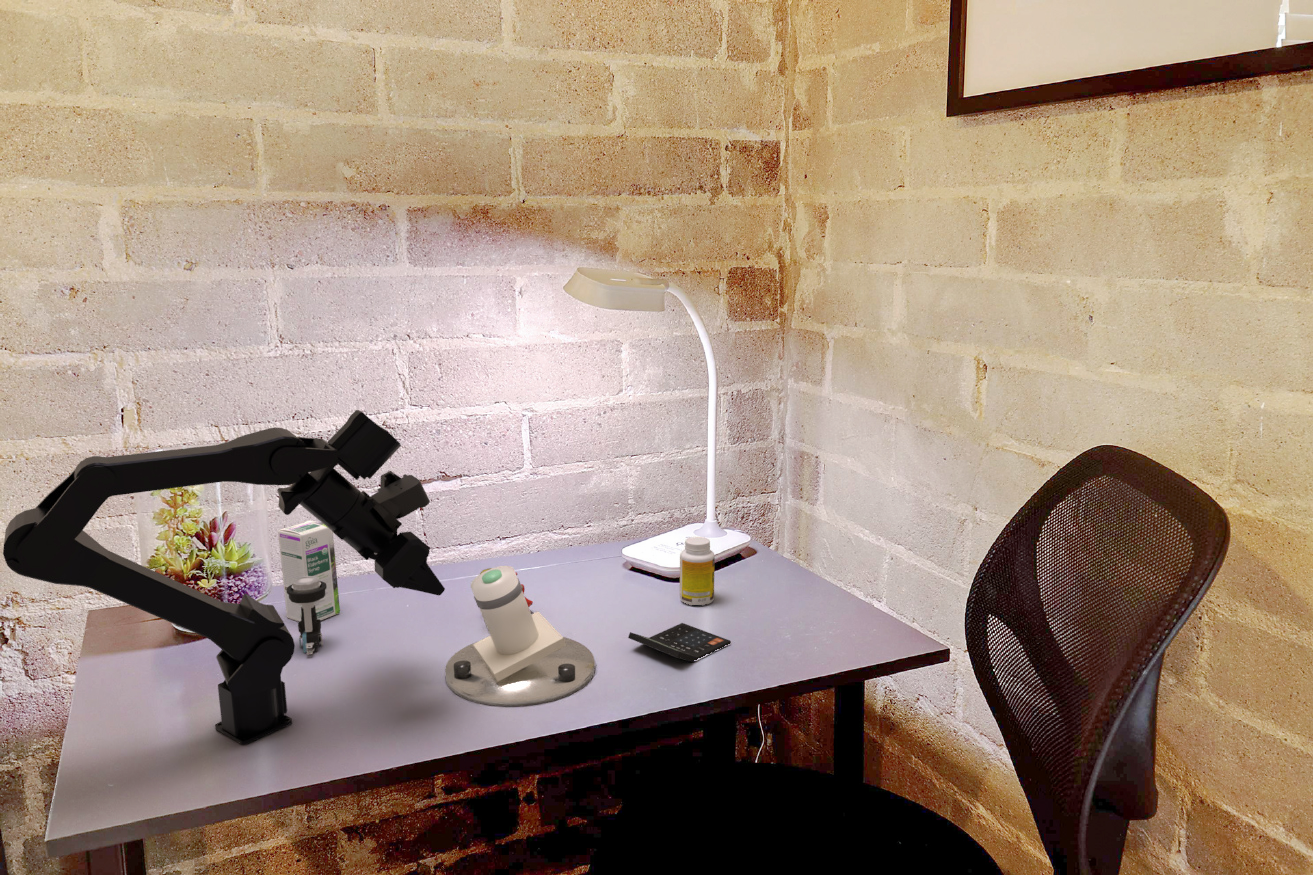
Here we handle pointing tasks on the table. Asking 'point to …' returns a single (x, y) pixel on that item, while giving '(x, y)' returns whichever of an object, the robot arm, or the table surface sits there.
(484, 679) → the silver round metal plate
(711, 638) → the calculator
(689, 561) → the supplement bottle
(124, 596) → the robot arm
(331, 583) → the syrup box
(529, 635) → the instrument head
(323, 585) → the push button
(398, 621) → the table surface
